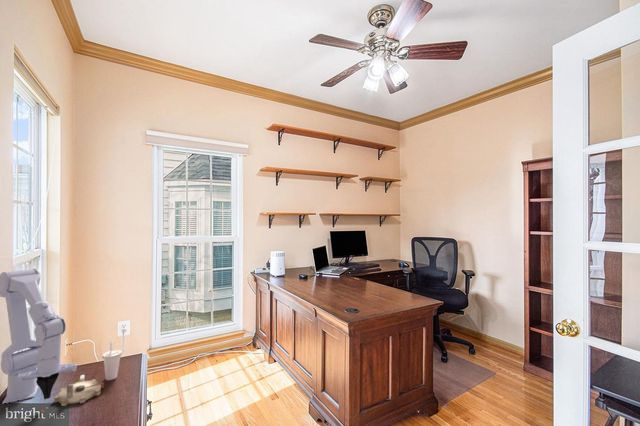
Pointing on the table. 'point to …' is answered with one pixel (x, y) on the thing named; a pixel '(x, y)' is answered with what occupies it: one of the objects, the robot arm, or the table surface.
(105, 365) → the smoothie
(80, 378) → the index pointer
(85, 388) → the sprocket
